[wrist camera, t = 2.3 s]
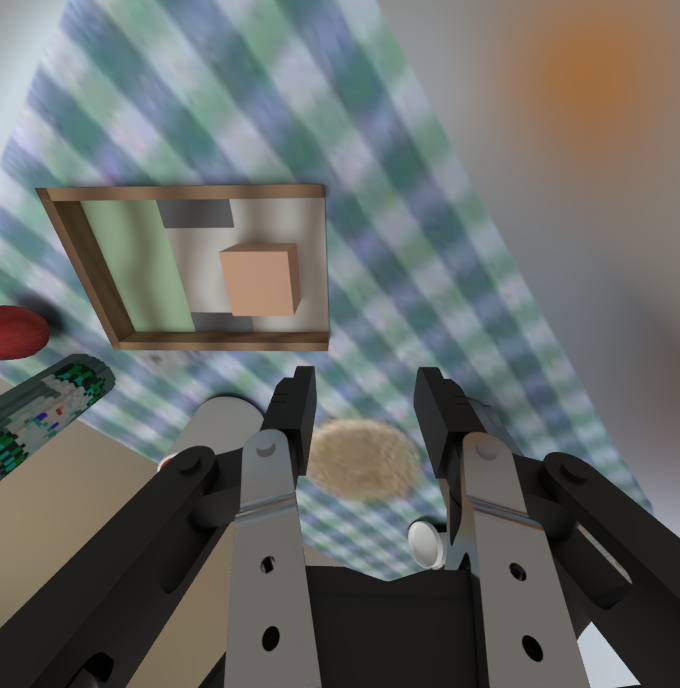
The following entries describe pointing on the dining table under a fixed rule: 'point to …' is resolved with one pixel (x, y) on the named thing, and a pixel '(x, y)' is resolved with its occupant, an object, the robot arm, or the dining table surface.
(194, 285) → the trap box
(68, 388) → the can
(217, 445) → the cup
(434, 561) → the spread jar
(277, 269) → the block
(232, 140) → the dining table surface
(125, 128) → the dining table surface
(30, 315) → the red oval fruit
